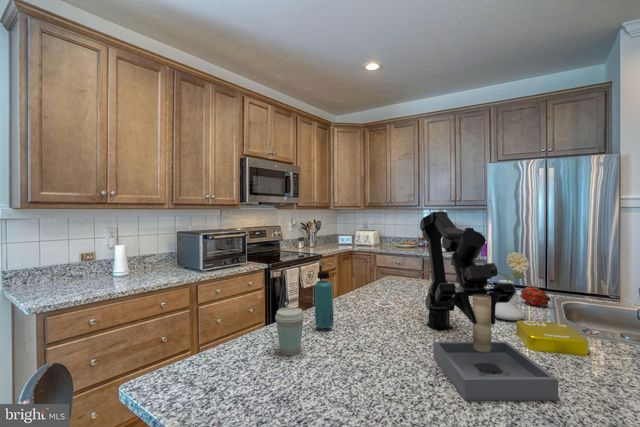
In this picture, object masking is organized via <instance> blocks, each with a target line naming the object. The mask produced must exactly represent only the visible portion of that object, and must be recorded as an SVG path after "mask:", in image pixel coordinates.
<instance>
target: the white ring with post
mask: <svg viewBox="0 0 640 427" xmlns="http://www.w3.org/2000/svg"><path fill="white" fill-rule="evenodd" d="M389 297H390V296H389V295H388V294H382V295H381V296H380V299H379V301H376V302H375V305H377V306H378V307H384V308H385V307H386V308H387V307H389V308H391V307H393V306H395V303H393V302H391V301H389ZM380 303H382V305H381V304H380ZM388 304H390V305H388Z"/></svg>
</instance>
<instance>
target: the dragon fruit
mask: <svg viewBox="0 0 640 427" xmlns="http://www.w3.org/2000/svg"><path fill="white" fill-rule="evenodd" d="M519 297H520V298H521V299H522V300H524V301H525V303H526V304H527V305H533V306H535V307H537V308H543V306H544V305H545V306H548V305H549V302H552V301H551V297H550V296H549V295H547V293H546V292H545V291H544V290H542V289H540V288H538V287H537V286H532V285H530V286H529V285H528V286H526V287H524V288H523V289H522V290H521V294H520V295H519ZM542 305H543V306H542Z"/></svg>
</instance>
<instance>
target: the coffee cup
mask: <svg viewBox="0 0 640 427" xmlns="http://www.w3.org/2000/svg"><path fill="white" fill-rule="evenodd" d="M304 314H305V313H304V312H303V309H301V308H299V307H291V306H288V307H283V308H279V309H278V310H277V311H276V314H275V316H274V317H275V318H274V320H275V321H276V328H277V337H278V344H279V345H278V346H279V353H280V354H281V355H283V356H286V357H293V356H297V355H298V354H299V353H300V352H301V346H302V337H303V326H304V318H305V315H304Z"/></svg>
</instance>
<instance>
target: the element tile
mask: <svg viewBox="0 0 640 427" xmlns="http://www.w3.org/2000/svg"><path fill="white" fill-rule="evenodd" d="M515 324H516V326H515V327H516V329H515V330H516V332H515V334H516V335H517V337H518V338H519V339H520V341H521V342H522V343H523V344H524V346H526V348H527V349H528V350H531V351H535V352H544V353H553V354H561V355H562V354H563V355H569V356H570V355H572V356H581V357H583V356H585V357H586V356H588V355H589V340H588V339H587V338H585V337H584V336H583V335H582V334H580V333H579V332H578V331H576V330H575V329H574V328H572V327H571V326H570V325H568V324H566V323H558V322H557V323H556V322H546V321H545V322H544V321H532V320H521V319H519V320H516V322H515Z"/></svg>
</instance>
